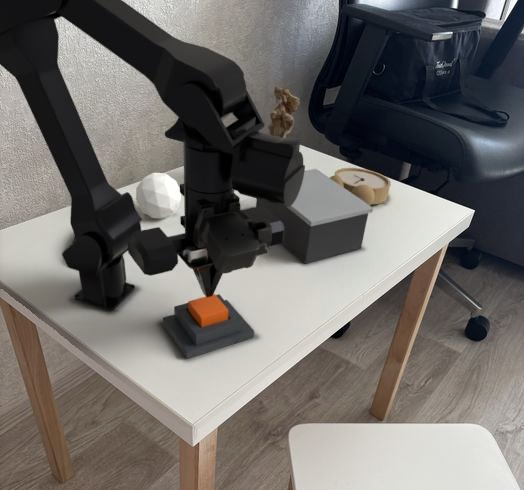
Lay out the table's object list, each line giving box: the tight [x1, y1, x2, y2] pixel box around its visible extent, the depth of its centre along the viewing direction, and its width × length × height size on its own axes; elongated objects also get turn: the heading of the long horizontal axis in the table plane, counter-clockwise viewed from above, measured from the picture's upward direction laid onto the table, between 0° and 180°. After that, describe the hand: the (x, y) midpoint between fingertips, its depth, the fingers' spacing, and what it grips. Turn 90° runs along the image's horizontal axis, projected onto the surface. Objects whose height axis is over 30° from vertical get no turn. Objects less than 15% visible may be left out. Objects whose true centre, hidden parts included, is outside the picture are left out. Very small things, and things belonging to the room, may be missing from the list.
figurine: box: [267, 86, 301, 138], centre depth 120 cm, size 7×6×15 cm
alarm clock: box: [329, 167, 392, 207], centre depth 112 cm, size 11×5×15 cm
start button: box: [187, 293, 228, 328], centre depth 76 cm, size 4×4×2 cm
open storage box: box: [255, 198, 369, 265], centre depth 99 cm, size 12×17×7 cm
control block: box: [161, 293, 255, 360], centre depth 78 cm, size 10×8×3 cm
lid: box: [287, 168, 374, 226], centre depth 97 cm, size 12×17×1 cm
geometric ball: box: [135, 171, 182, 219], centre depth 100 cm, size 8×8×8 cm
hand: (208, 295), depth 75 cm, fingers closed
